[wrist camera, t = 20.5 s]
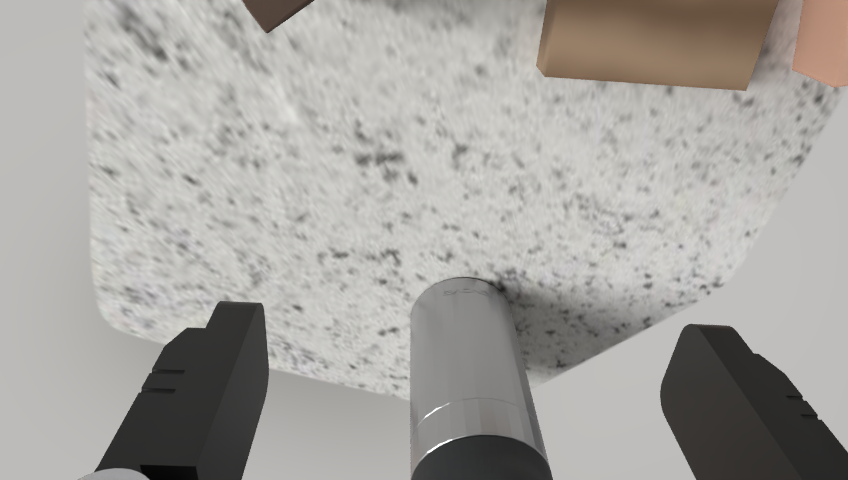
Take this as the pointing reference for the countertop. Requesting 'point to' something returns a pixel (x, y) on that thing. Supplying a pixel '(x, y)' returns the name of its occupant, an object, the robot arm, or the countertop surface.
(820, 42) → the cover
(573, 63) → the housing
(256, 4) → the coffee box
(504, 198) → the countertop surface
